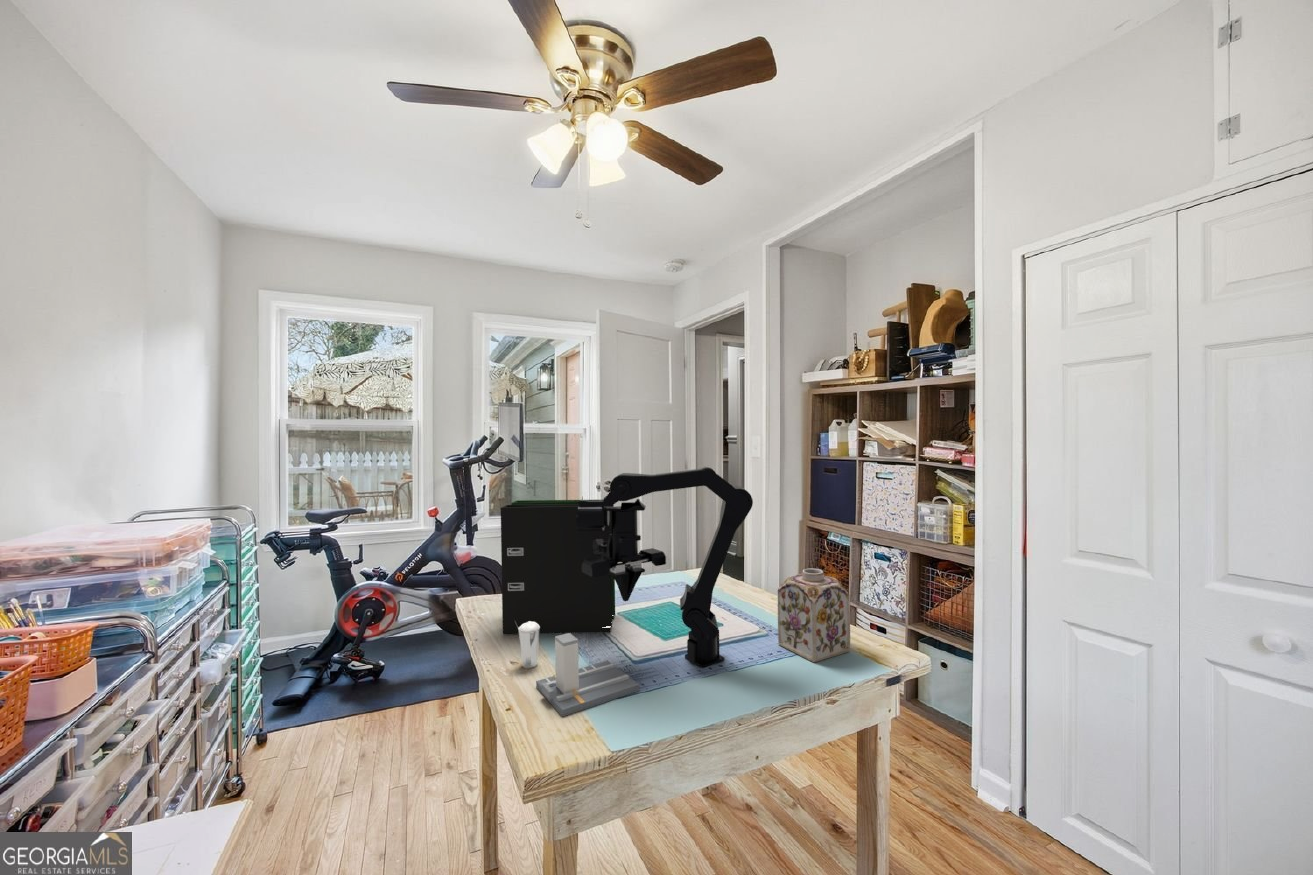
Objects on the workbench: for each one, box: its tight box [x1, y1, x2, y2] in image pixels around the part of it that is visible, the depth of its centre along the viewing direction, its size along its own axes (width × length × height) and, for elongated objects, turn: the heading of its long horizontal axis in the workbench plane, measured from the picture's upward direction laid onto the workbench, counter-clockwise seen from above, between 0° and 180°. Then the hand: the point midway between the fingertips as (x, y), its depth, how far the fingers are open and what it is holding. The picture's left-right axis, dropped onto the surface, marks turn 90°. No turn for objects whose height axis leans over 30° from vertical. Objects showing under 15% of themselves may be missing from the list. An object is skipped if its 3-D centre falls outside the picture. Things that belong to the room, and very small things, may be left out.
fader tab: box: [554, 633, 580, 694], centre depth 98 cm, size 3×4×10 cm
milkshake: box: [515, 621, 540, 669], centre depth 111 cm, size 4×5×10 cm
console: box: [535, 660, 640, 717], centre depth 100 cm, size 17×13×3 cm
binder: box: [500, 499, 616, 636], centre depth 135 cm, size 27×15×32 cm, turn 89°
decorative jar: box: [777, 568, 851, 663], centre depth 117 cm, size 12×12×18 cm
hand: (625, 600), depth 113 cm, fingers closed
